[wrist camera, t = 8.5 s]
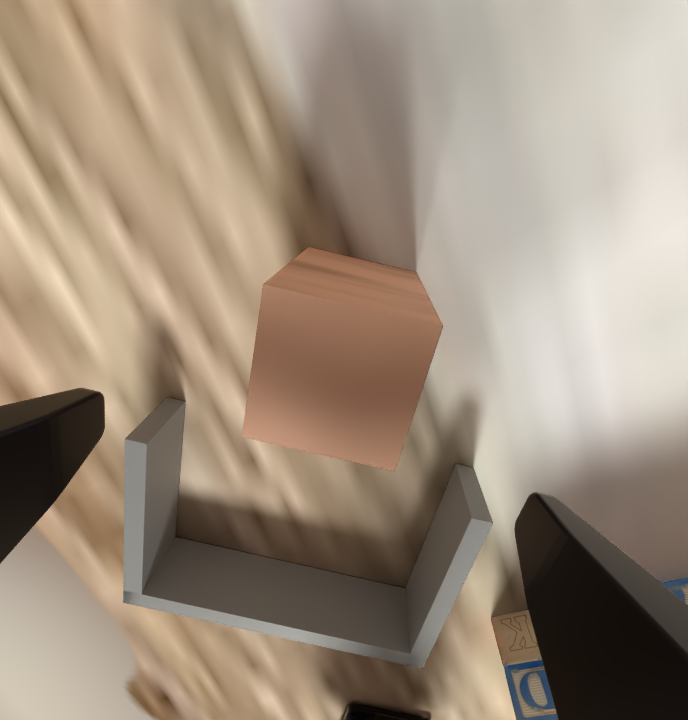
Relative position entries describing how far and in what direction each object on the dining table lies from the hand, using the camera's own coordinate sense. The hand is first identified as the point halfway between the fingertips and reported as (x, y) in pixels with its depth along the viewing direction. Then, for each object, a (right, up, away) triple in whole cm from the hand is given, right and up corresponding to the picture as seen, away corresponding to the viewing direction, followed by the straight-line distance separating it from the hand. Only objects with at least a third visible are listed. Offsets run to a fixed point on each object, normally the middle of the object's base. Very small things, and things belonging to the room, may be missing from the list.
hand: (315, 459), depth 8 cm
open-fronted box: (-2, -6, +16) cm, 17 cm away
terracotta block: (+1, +4, +11) cm, 12 cm away
